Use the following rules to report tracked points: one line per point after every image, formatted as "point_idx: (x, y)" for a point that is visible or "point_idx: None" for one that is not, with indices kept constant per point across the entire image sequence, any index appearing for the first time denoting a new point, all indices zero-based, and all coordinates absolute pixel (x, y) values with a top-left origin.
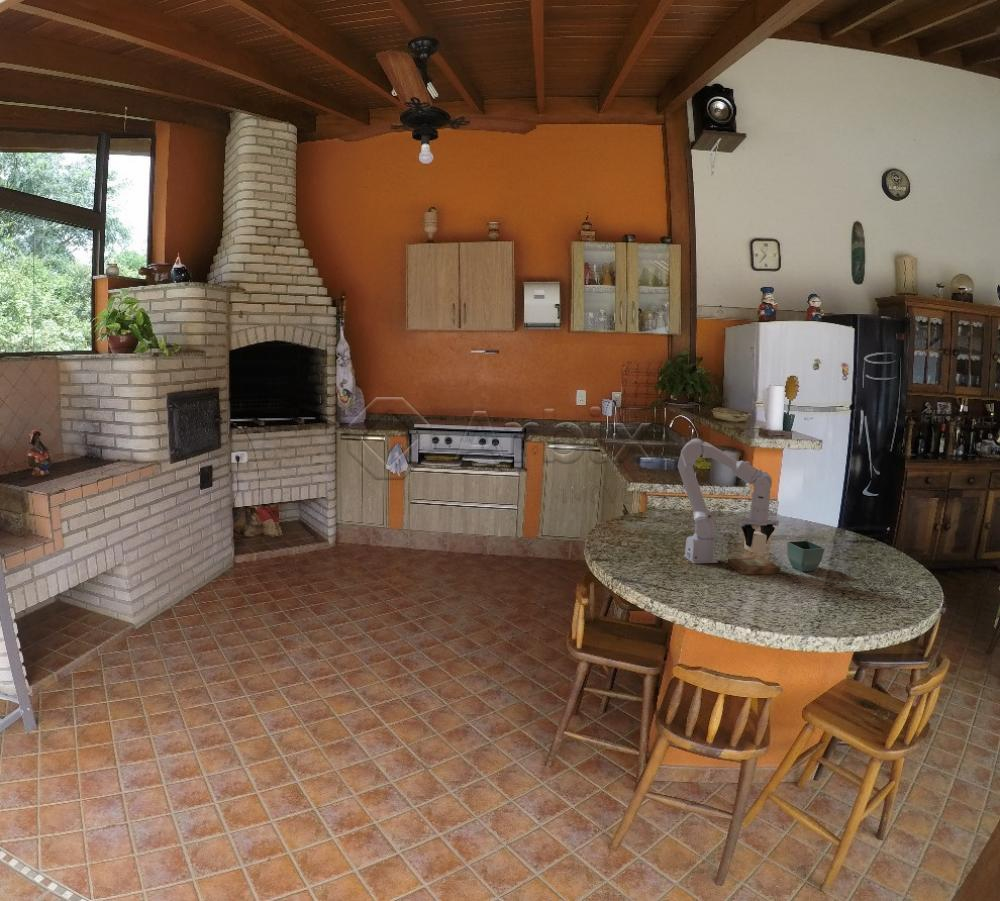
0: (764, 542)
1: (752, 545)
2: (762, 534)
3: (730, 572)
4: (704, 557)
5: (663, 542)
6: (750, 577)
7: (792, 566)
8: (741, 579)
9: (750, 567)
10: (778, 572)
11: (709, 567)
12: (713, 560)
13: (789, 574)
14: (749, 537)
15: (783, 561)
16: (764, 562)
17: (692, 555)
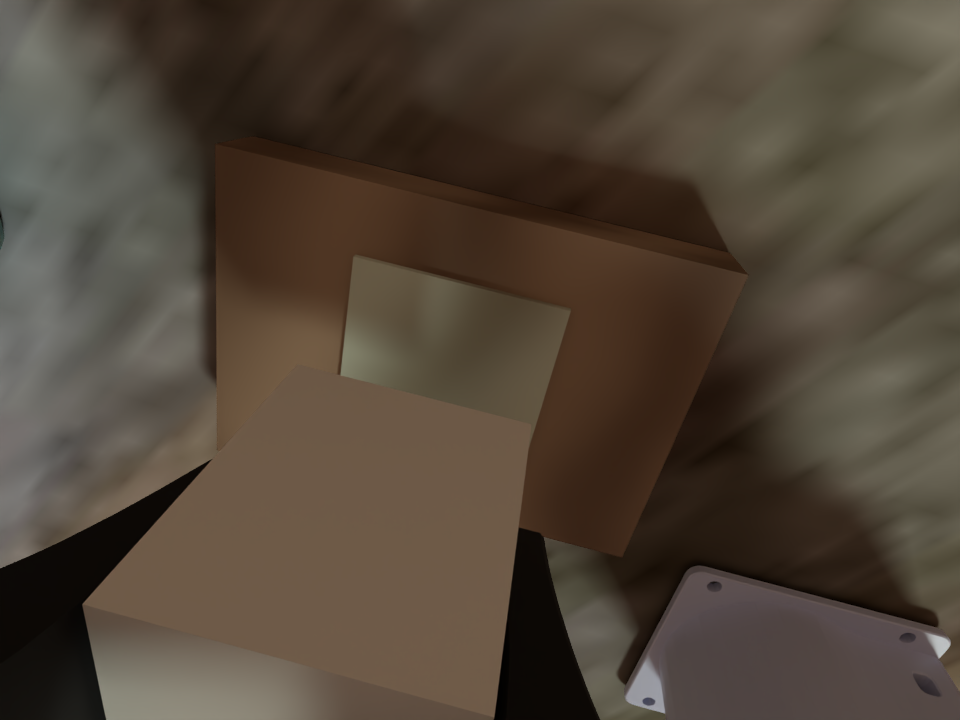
0: (242, 480)
1: (518, 513)
2: (162, 683)
3: (811, 347)
4: (844, 656)
5: None
6: (732, 135)
7: (3, 235)
8: (925, 114)
9: (612, 277)
10: (266, 141)
11: (885, 520)
12: (709, 603)
13: (161, 59)
14: (590, 704)
15: (23, 381)
16: (301, 347)
17: None
